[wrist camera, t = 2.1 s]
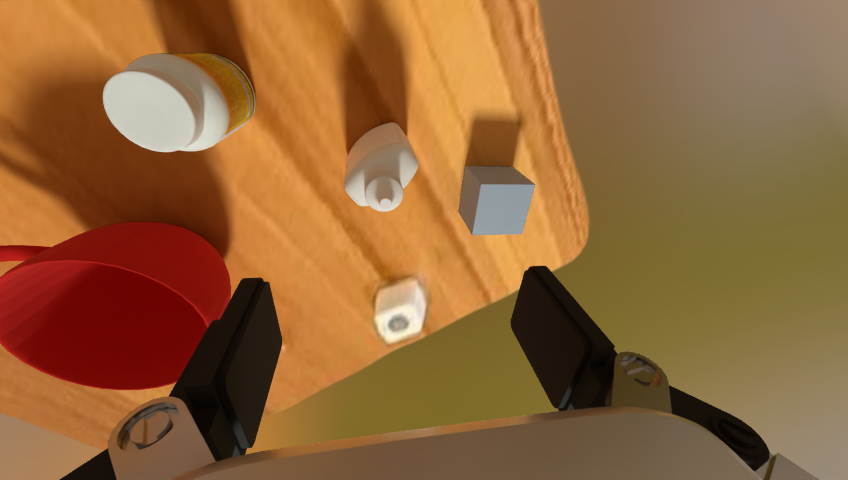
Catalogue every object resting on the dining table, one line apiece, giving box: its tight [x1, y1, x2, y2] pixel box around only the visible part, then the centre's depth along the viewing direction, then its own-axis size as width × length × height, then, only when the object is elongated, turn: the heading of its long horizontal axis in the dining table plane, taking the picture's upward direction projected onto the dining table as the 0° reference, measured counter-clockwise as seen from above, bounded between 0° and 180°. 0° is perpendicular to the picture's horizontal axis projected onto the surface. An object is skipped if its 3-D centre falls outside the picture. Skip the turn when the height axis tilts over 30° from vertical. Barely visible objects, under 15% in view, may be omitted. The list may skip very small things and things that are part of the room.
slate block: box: [459, 166, 535, 235], centre depth 30 cm, size 5×5×5 cm
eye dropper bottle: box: [344, 122, 419, 212], centre depth 23 cm, size 4×6×12 cm
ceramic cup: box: [0, 222, 231, 390], centre depth 26 cm, size 13×17×10 cm
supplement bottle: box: [103, 53, 255, 152], centre depth 20 cm, size 5×5×10 cm
